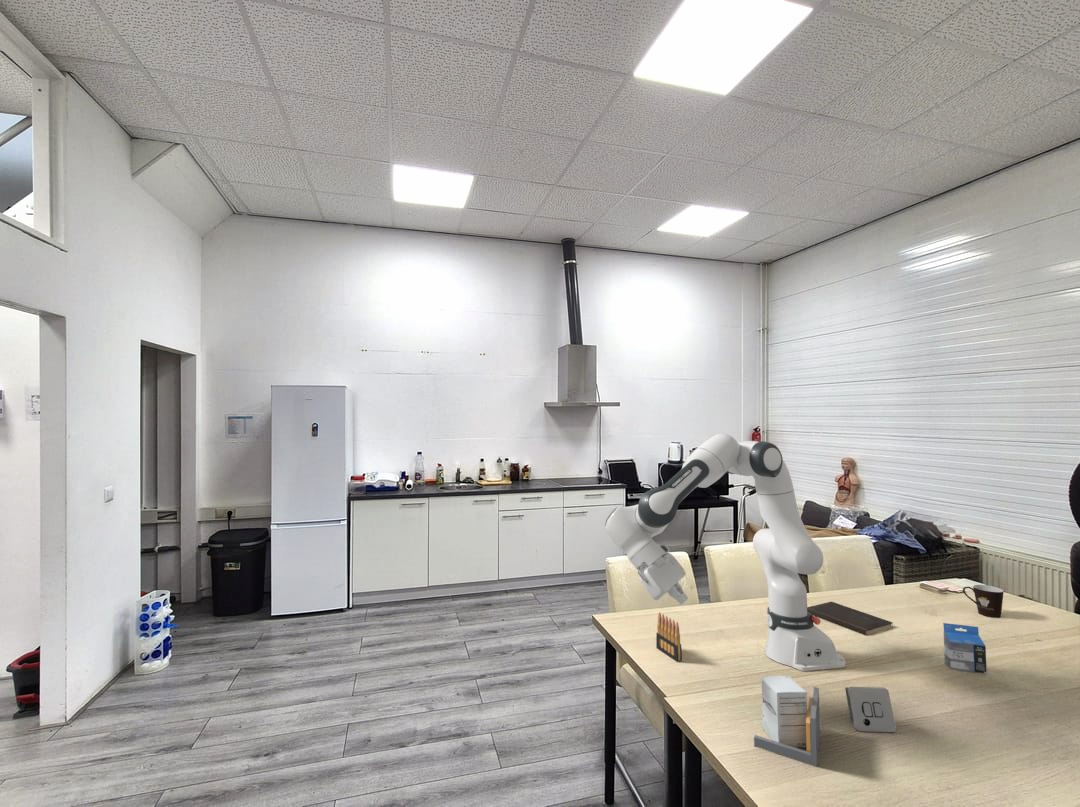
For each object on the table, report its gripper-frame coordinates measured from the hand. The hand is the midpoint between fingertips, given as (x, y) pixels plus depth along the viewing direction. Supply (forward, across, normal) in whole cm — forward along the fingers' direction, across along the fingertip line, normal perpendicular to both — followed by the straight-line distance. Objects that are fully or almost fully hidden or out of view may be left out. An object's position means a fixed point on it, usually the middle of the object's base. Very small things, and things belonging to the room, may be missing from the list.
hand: (684, 601), depth 127 cm
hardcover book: (+45, +88, -5) cm, 99 cm away
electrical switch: (+48, +16, -9) cm, 51 cm away
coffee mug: (+76, +123, -38) cm, 150 cm away
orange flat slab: (+39, 0, -2) cm, 39 cm away
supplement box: (+36, -1, +3) cm, 36 cm away
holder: (+36, 0, +2) cm, 36 cm away
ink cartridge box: (+66, +64, -27) cm, 95 cm away
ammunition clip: (+10, +25, +29) cm, 39 cm away
